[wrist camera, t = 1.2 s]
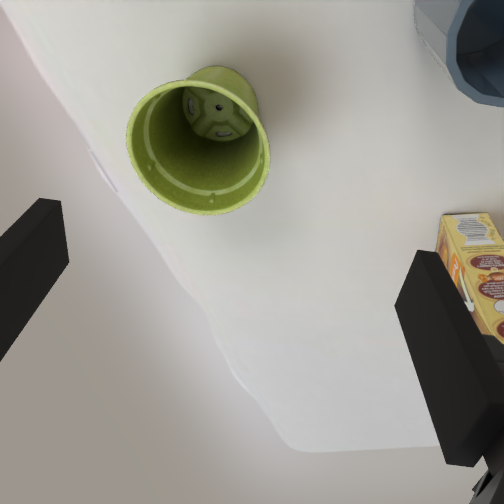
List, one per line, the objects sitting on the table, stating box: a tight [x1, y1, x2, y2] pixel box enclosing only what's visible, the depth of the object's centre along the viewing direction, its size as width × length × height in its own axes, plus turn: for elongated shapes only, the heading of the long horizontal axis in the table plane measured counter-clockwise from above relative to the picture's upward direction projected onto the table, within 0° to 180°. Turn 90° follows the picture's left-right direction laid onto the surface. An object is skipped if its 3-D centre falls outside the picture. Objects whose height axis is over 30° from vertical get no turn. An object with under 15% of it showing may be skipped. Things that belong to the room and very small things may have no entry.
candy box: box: [436, 213, 504, 344], centre depth 35 cm, size 9×4×15 cm, turn 9°
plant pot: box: [126, 66, 270, 215], centre depth 31 cm, size 9×9×9 cm
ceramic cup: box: [414, 0, 504, 107], centre depth 25 cm, size 7×7×9 cm
